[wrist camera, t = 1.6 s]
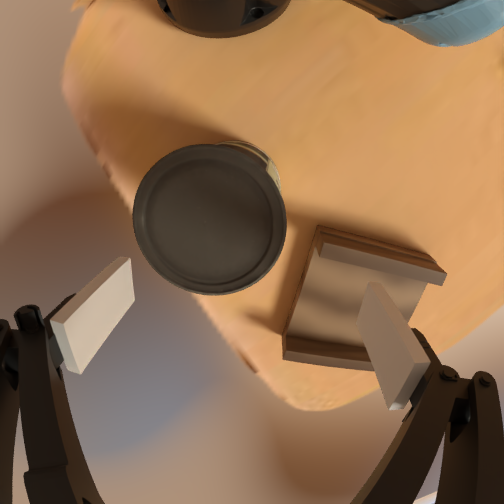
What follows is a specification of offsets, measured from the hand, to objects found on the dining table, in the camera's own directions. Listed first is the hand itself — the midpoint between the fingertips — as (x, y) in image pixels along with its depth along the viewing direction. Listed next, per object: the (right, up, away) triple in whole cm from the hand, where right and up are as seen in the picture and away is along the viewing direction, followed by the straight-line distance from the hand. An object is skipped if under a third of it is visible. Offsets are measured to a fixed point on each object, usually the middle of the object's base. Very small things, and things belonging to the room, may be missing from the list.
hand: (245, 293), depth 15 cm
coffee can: (-2, +9, +16) cm, 19 cm away
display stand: (+14, -4, +20) cm, 25 cm away
